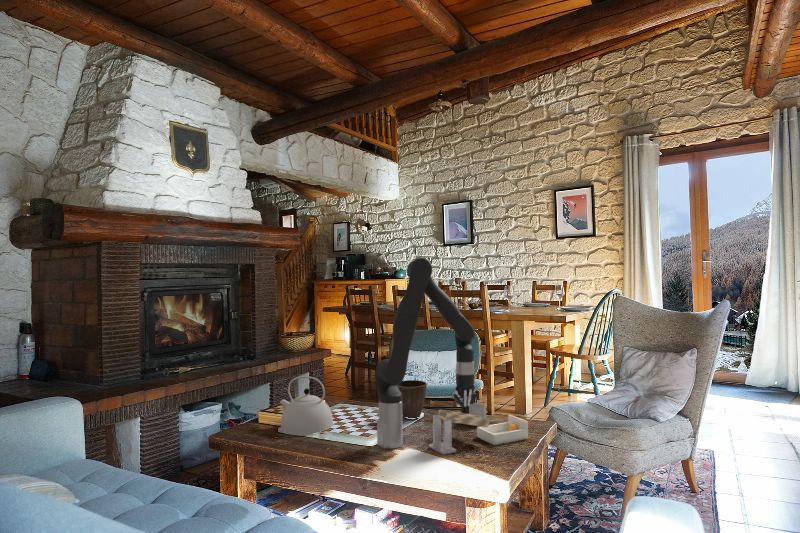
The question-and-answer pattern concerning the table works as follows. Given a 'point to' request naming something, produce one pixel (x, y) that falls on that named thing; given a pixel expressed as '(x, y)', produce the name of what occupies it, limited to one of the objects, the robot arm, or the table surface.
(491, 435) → the bin
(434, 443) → the pivot stand
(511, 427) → the ball
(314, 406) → the kettle
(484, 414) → the teacup
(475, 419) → the chute lever
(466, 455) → the table surface
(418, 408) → the plant pot
